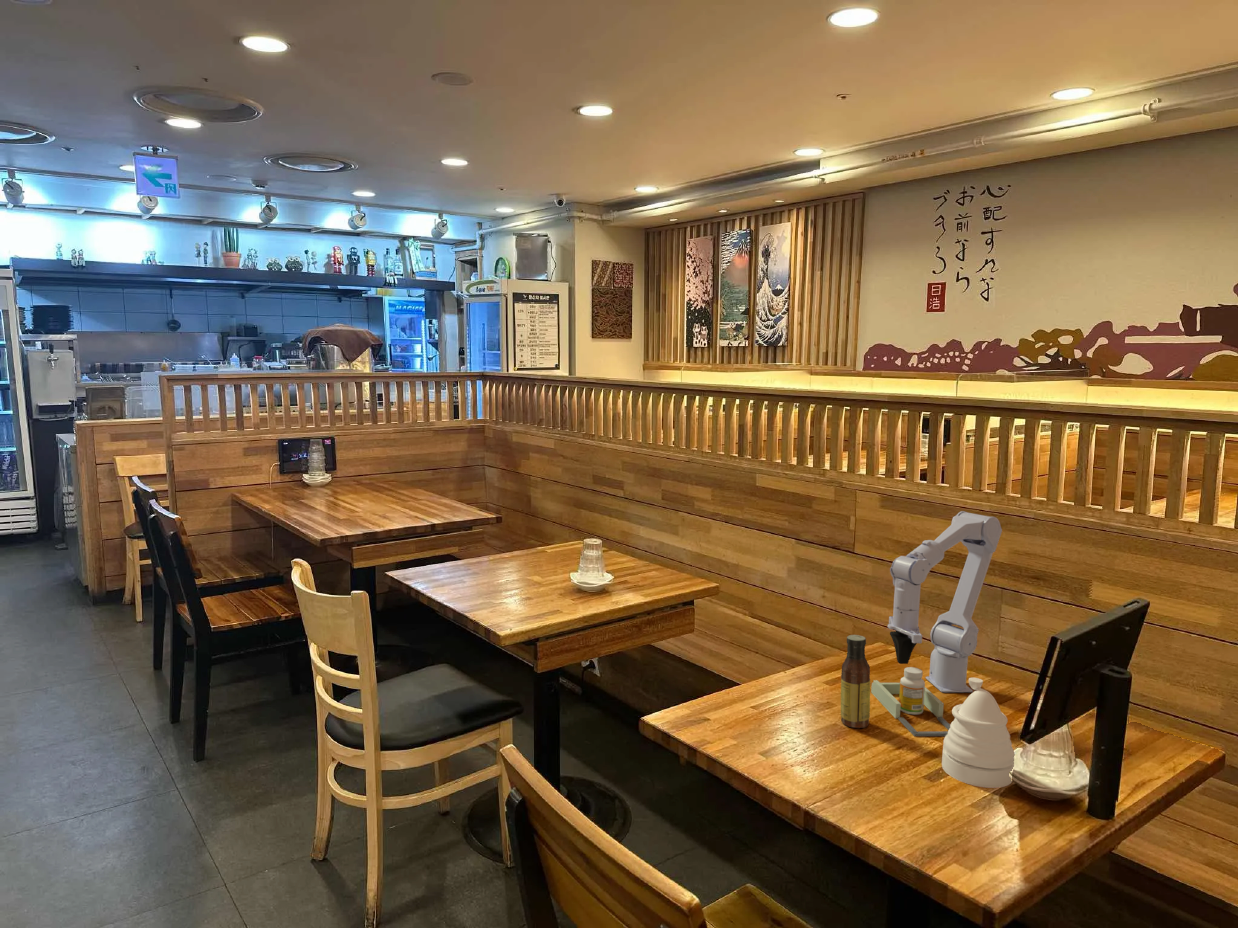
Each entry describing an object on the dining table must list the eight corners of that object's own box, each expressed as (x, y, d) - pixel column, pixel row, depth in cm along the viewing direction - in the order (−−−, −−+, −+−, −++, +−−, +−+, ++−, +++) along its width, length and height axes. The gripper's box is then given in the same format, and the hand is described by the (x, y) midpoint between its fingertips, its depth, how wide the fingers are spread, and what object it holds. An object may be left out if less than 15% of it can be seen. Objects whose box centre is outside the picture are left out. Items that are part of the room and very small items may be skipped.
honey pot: (927, 761, 164) (933, 675, 162) (977, 752, 169) (983, 668, 167) (976, 792, 152) (983, 700, 150) (1028, 781, 157) (1035, 691, 155)
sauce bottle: (866, 718, 184) (871, 633, 182) (871, 730, 178) (876, 642, 176) (836, 716, 185) (841, 631, 183) (841, 728, 179) (845, 640, 176)
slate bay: (898, 719, 184) (898, 716, 184) (941, 719, 185) (941, 716, 185) (914, 736, 176) (914, 733, 176) (959, 735, 176) (959, 733, 176)
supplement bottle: (903, 703, 193) (906, 664, 192) (926, 709, 190) (929, 669, 189) (895, 710, 189) (897, 670, 188) (918, 717, 186) (921, 676, 185)
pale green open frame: (871, 692, 200) (872, 678, 199) (915, 692, 200) (915, 678, 200) (895, 718, 185) (896, 703, 184) (942, 718, 185) (943, 703, 185)
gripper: (878, 598, 200) (875, 652, 201) (902, 616, 185) (898, 673, 187) (906, 598, 200) (902, 652, 202) (932, 616, 186) (928, 673, 187)
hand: (902, 662), depth 194 cm, fingers closed
